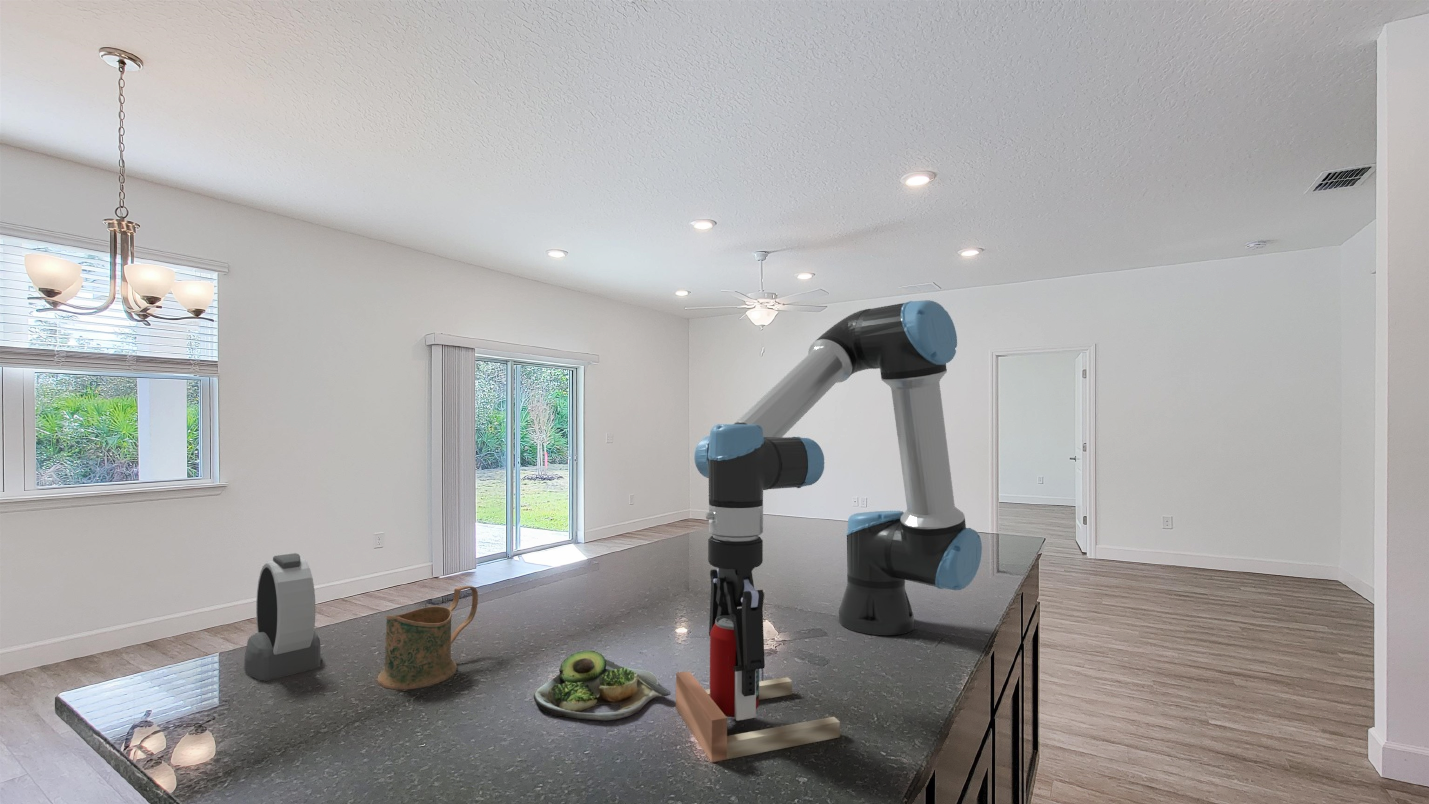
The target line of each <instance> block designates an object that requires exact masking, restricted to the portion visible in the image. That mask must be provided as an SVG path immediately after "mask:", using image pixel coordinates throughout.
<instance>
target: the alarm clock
mask: <svg viewBox="0 0 1429 804" xmlns="http://www.w3.org/2000/svg"><path fill="white" fill-rule="evenodd" d="M314 585H315V584H314V579H313V573H312V571H311V568H310V565H309V564H308V561H306V559H304V557H301V556H300V554H299V553H296V552H295V553H287V554H278V555H274V556H273V557H272V560H271V561H267V562H265V563H264V565H263V566H262V567H261V569H260V572H259V576H258V582H257V589H256V606H255V607H256V613H255V615H256V630H257V632H256V633H254V634H252V635H251V636H249V638H248V639H247V642H246V648H245V652H244V661H243V662H244V664H243V667H244V668H243V669H244V673H246V674H247V675H248V676H249V677H251V678H254V679H256V680H261V681H271V680H275V679H280V678H283V677H287V676H291V675H296V674H300V673H303V672H307V671H311V670H315V669H317V668H319V667H320V665H321V640H320V637H319V635H318V633H317V632H316V631H315V627H316V593H315V586H314Z"/></svg>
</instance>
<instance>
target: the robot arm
mask: <svg viewBox="0 0 1429 804" xmlns="http://www.w3.org/2000/svg"><path fill="white" fill-rule="evenodd" d="M957 346H958V336H957V331H956V327H955V324H954V321H953V319H952V317H951V315H950V313H949V312H948V311H947V310H946V309H945V308H944V307H943V305H942V304H940V303H938V302H936V301H934V300H926V299H925V300H910V301H906V302H902V303H897V304H890V305H885V306H879V307H873V308H866V309H861V310H859V311H855V312H853V313H851V314H849V315H848V316H846V317H845V318H843V319H841V320H840V321H838V322H836V323H835V324H834V325H833V326H831V327H830V328H829V329H828V330H826V331H825V332H824V333H823V334H821V335H820V336H818V338H817V339H816V340H815V341H814V342H813V343H811V345H810V346H809V348H808V353H807V355H806V356H805V357H804V358H803V359H801V361H800V362H798V364H797V365H795V366H794V367H793V368H792V369H791V370H790V371H788V373H787V374H786V375H784V377H783V378H781V379H780V380H779V381H778V382H777V383H776V384H775V385H774V386H773V387H772V388H771V389H769V390H768V391H767V392H766V394H764V395H763V396H762V397H761V398H760V399H759V400H758V401H757V402H756V403H755V404H754V405H752V406H751V407H750V408H749V409H748V410H747V411H746V412H745V413H743V415H741V417H739V419H737V420H736V422H734V423H731V424H730V423H729V424H727V423H726V424H724V423H723V424H722V423H721V424H720V423H718V424H714V426H712V427H711V429H710V432H709V435H708V436H704V437H703V438H702V439H700V440H699V441H698V444H697V445H696V447H695V450H694V464H695V467H696V470H697V471H698V473H699V474H700V475H701V476H703V477H705V478H706V479H708V512H706V513H705V518H706V520H708V533H710V534H711V536H709V538H708V539H707V542H708V543H707V545H708V546H707V551H708V552H707V560H708V563H709V564H710V566H712V567H714V568H715V569H710V572H709V576H710V578H709V579H710V600H709V601H710V602H709V604H710V605H709V624H708V628H709V629H708V636H709V637H710V632H711V629H712V628H713V626H714V624H715V620H716V618H717V617H719V616H722V615H731V616H732V617H733V625H734V634H735V641H736V652H737V660H738V666H734V667H733V670H734V671H735V718H734V720H736V721H744V720H748V719H753V718H756V717H757V709H756V670H757V669H759V670H763V669H765V667H766V666H765V665H766V664H765V663H766V662H765V659H766V658H765V640H764V637H765V636H764V611H763V610H764V609H763V608H764V599H765V594H764V593H765V592H764V590H763V589H757V590H756V589H755V585H754V578H753V570H754V569H755V568H758V567H760V566H761V565H762V564H763V561H764V560H763V559H764V557H763V556H764V555H763V551H764V550H763V546H764V545H763V543H764V541H763V539H762V538H761V535H762V534H763V533H764V491H768V490H776V489H778V490H779V489H793V488H794V489H795V488H796V489H801V488H803V487H807V486H812V485H814V484H816V483H817V482H818V481H819V480H820V478H821V477H822V476H823V474H824V471H825V455H824V451H823V449H822V448H821V446H820V445H819V444H818V442H816V441H815V440H814V439H811V438H809V437H801V436H791V437H790V436H788V437H786V436H785V435H786V434H787V433H788V432H789V431H790V430H791V429H792V428H794V426H795V425H796V424H797V423H798V422H799V421H800V420H801V419H802V418H804V416H805V415H806V414H807V413H808V411H810V410H811V409H812V408H813V407H814V405H816V403H818V402H819V401H820V400H821V399H822V398H823V396H824V395H826V394H827V393H828V392H829V391H830V390H831V389H832V388H833V387H834V386H835V385H836V383H837V384H838V383H839V384H840V383H842V382H845V381H847V380H848V379H849V378H850V377H851V376H852V375H854V374H856V373H858V372H861V371H866V370H872V369H873V370H877V369H879V372H880V379H881V381H882V382H884V383H885V384H886V385H887V386H889V387H890V390H891V398H892V405H893V406H892V407H893V413H894V419H895V428H896V435H897V443H898V450H899V457H900V458H899V460H900V465H901V472H902V480H903V488H904V497H905V502H906V510H905V511H901V510H880V511H879V510H877V511H875V510H874V511H866V512H865V511H864V512H857V513H854V514H851V515H850V516H849V518H848V519H847V528H846V530H847V531H846V534H845V536H846V563H847V565H846V568H847V569H846V571H847V572H846V575H847V577H846V578H847V579H846V581H847V582H846V586H845V591H844V593H843V597H842V599H841V602H840V605H839V608H838V622H839V623H840V624H841V625H842V627H844V628H846V629H848V630H851V631H854V632H858V633H862V634H867V635H874V636H899V635H904V634H907V633H910V632H912V631H913V630H914V628H915V615H914V613H913V609H912V606H911V603H910V602H911V601H910V600H909V596H908V593H907V591H906V581H908V582H913V583H917V584H921V585H926V586H930V587H934V588H937V589H939V590H944V589H945V590H951V591H962V590H964V589H966V588H967V587H969V585H970V584H972V581H974V579H975V578H976V575H977V573H978V570H979V568H980V564H981V560H982V553H983V552H982V551H983V550H982V549H983V546H982V539H981V537H980V534H979V533H978V531H976V530H975V529H973V528H971V527H967V524H966V517H965V514H964V512H963V511H961V510H960V509H958V508H957V507H956V505H955V499H954V498H955V497H954V490H953V480H952V475H951V474H952V473H951V466H950V457H949V450H948V441H947V433H946V426H945V418H944V408H943V400H942V394H941V386H940V382H941V379H943V377H944V376H945V374H946V373H947V364H948V363H951V361H952V360H953V359H954V357H955V356H956V354H957V350H956V348H957ZM784 436H785V437H784ZM716 568H717V569H716Z"/></svg>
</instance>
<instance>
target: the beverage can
mask: <svg viewBox="0 0 1429 804" xmlns="http://www.w3.org/2000/svg"><path fill="white" fill-rule="evenodd" d="M709 637H710V639H709V689H710V697H711V699H712V700H713V701H714V702H715V703H716V705H717V706H718V707H719V708H720V710H721V711H722V712H723V713H724V715H725V716H726V717H727V718H734V719H735V671H734V670H733V667H734V666H738V660H737V652H736V641H735V634H734V625H733V617H732V616H731V615H722V616H719V617H717V618H716V620H715V624H714V626H713V628H712V629H711V632H710V636H709ZM759 681H760V669H757V670H756V710H757V709H758V707H759V706H760V700H759Z"/></svg>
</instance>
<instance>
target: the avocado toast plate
mask: <svg viewBox="0 0 1429 804" xmlns="http://www.w3.org/2000/svg"><path fill="white" fill-rule="evenodd" d="M558 671H559V673H558V675H556V676H555V677H554V678H552V679H550V680H549V681H547V682H546V683H544V684H543V685H541V686H540V687H538V688H537V689H536V691H535V692H534V693H533V699H534V702H535V704H536V706H537V707H538V708H539V709H540V710H542V711H543V712H545V713H547V714H550V715H554V716H558V717H567V718H573V719H579V720H590V721H591V720H592V721H594V720H595V721H613V720H620V719H623V718H627V717H630V716H633V715H634V714H636V713H638V712H639V711H641V710H642V709H643V708H644V707H645V706H646V704H648V703H649V702H650V701H651V700H653V699H654V698H657V697H668V696H670V695H671V694H672V693H671V692H672V691H671V690H669V689H666V688H665V687H663V686H661V685H660V684H659V682H660V681H659V679H658V678H657V676H656V675H655V674H654V673H653V672H651V671H649V670H644V669H637V668H636V669H635V668H630V667H629V668H628V667H626V666H621V665H618V664H616V663H615V662H614V661H611V660H608V659H605V656H604V655H603V654H602V653H600V652H598V651H595V650H582V651H577V652H575V653H573V654H571V655H570V656H568V657H567V658H565V659H564V660H563V661H562V662H561V663H560V667H559V669H558ZM607 704H608V705H609V704H610V705H612V706H614V705H620V707H619V709H618V710H612V711H606V712H597V713H596V712H595V713H594V712H582V711H584V710H587V709H590V708H592V707H594V706H595V707H596V706H598V705H607Z"/></svg>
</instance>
